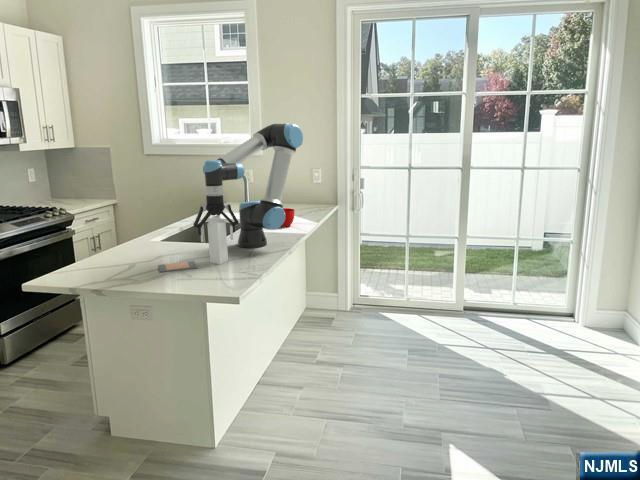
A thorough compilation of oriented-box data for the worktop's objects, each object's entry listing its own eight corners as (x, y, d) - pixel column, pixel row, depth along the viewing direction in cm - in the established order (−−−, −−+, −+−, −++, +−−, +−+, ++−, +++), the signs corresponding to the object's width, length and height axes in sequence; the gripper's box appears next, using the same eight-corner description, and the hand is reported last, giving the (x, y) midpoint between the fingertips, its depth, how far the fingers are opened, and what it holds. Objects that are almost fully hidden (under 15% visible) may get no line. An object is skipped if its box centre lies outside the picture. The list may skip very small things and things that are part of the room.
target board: (193, 262, 236) (193, 260, 236) (197, 268, 226) (196, 266, 226) (158, 266, 230) (158, 264, 230) (159, 272, 220) (159, 271, 220)
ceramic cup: (297, 222, 321) (296, 207, 318) (293, 228, 304) (292, 212, 302) (277, 222, 322) (276, 207, 320) (272, 228, 306) (271, 212, 303)
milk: (210, 263, 234) (206, 216, 229) (218, 259, 239) (214, 214, 234) (220, 264, 232) (217, 217, 226) (228, 261, 237) (225, 214, 232)
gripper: (187, 197, 220) (190, 244, 225) (243, 194, 229) (245, 239, 234) (185, 195, 227) (188, 241, 232) (240, 192, 236) (242, 236, 241)
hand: (217, 240), depth 233 cm, fingers open, 13 cm apart
